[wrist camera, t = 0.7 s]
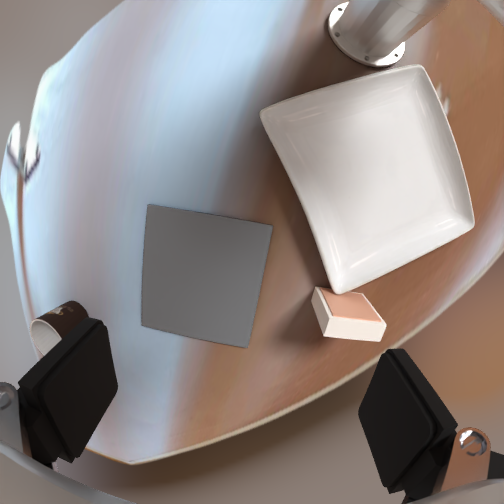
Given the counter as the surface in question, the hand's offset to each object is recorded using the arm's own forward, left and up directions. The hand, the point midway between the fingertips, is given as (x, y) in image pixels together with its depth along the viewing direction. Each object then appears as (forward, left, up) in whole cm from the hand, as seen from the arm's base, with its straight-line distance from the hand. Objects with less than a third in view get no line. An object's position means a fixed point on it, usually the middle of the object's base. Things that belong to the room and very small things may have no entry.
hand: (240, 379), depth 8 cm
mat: (+10, -7, -32) cm, 34 cm away
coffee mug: (+23, -29, -32) cm, 49 cm away
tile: (+9, +14, -32) cm, 36 cm away
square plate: (-11, +16, -32) cm, 38 cm away
